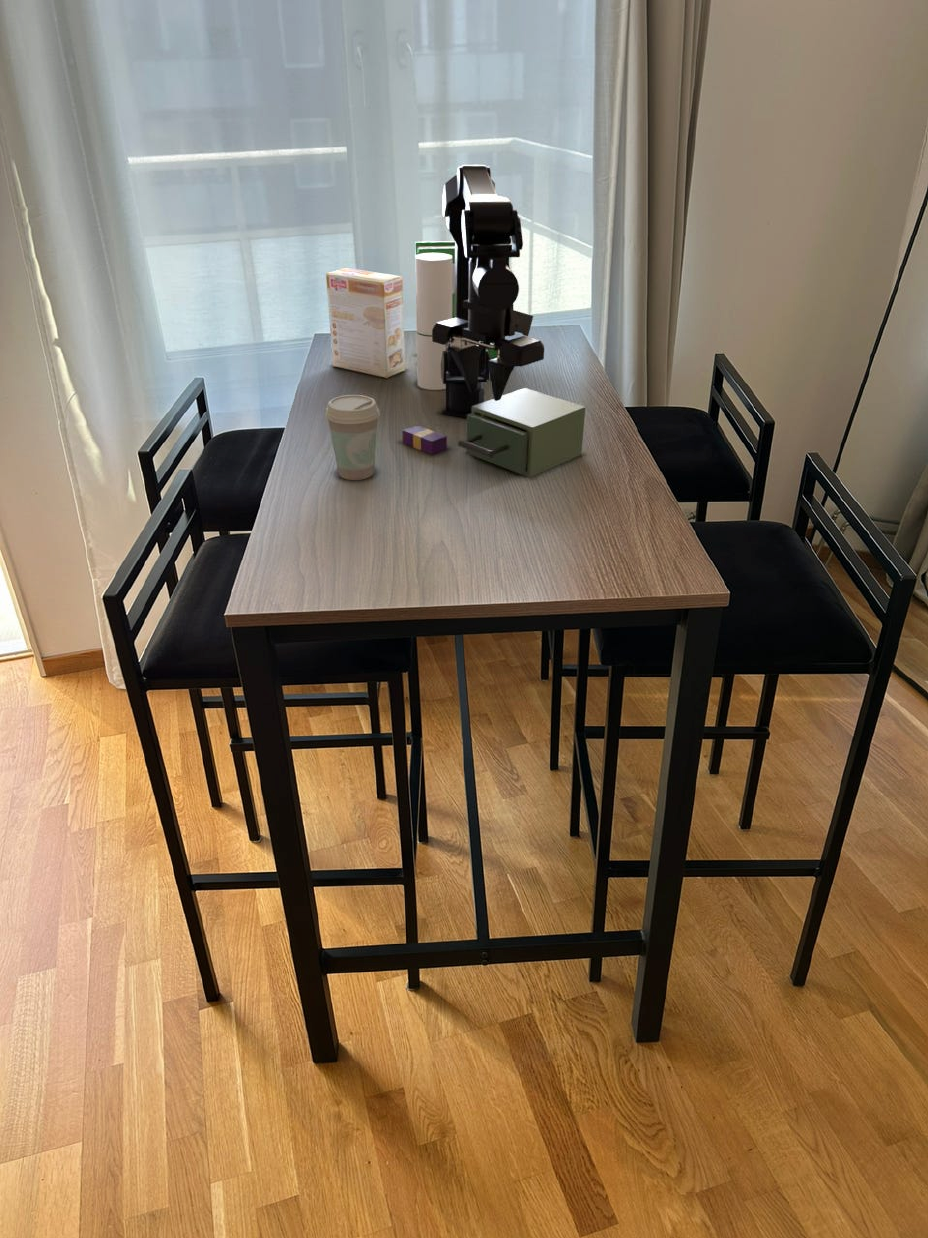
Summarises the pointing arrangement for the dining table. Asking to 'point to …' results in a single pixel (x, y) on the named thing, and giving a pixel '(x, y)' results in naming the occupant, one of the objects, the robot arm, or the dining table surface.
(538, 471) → the cabinet
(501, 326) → the robot arm
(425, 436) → the chocolate bar
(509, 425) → the drawer
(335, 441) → the coffee cup
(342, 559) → the dining table surface
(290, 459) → the dining table surface
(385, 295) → the coffeecake box
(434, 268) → the cylindrical container
